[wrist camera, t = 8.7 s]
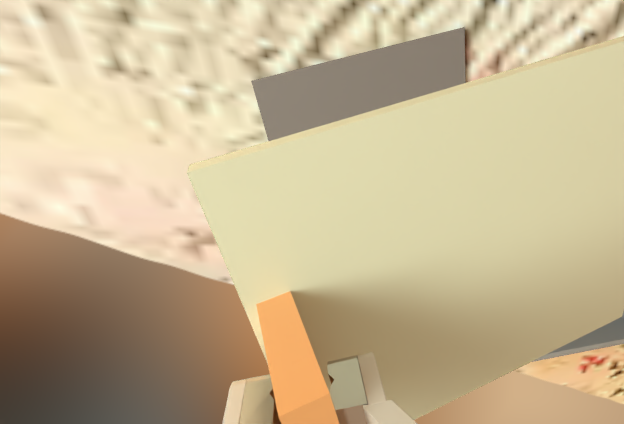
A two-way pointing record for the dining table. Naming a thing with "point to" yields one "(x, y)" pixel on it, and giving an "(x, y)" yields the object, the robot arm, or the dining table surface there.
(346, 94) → the mat
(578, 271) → the lid
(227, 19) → the dining table surface
